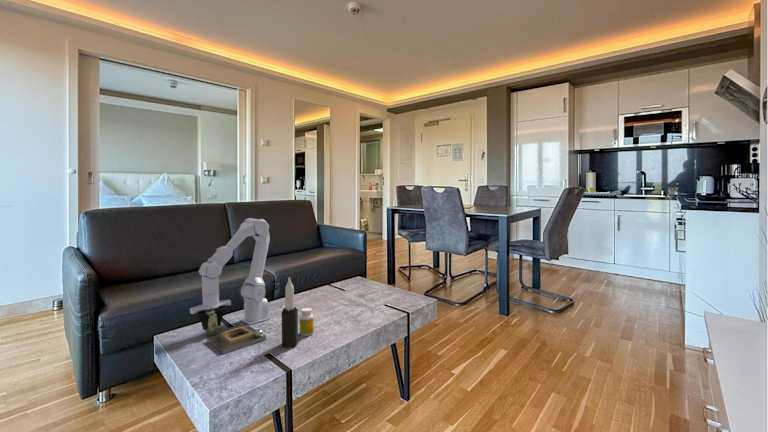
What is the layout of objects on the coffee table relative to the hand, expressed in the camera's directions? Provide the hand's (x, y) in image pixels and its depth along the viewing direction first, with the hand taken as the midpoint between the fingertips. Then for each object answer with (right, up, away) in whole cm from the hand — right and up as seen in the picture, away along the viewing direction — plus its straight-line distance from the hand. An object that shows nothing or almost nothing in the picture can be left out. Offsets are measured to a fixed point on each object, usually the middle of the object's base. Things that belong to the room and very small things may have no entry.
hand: (211, 327), depth 134 cm
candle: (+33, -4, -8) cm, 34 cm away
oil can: (0, -2, 0) cm, 2 cm away
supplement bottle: (+37, -3, +2) cm, 37 cm away
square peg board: (+12, -3, -6) cm, 14 cm away
